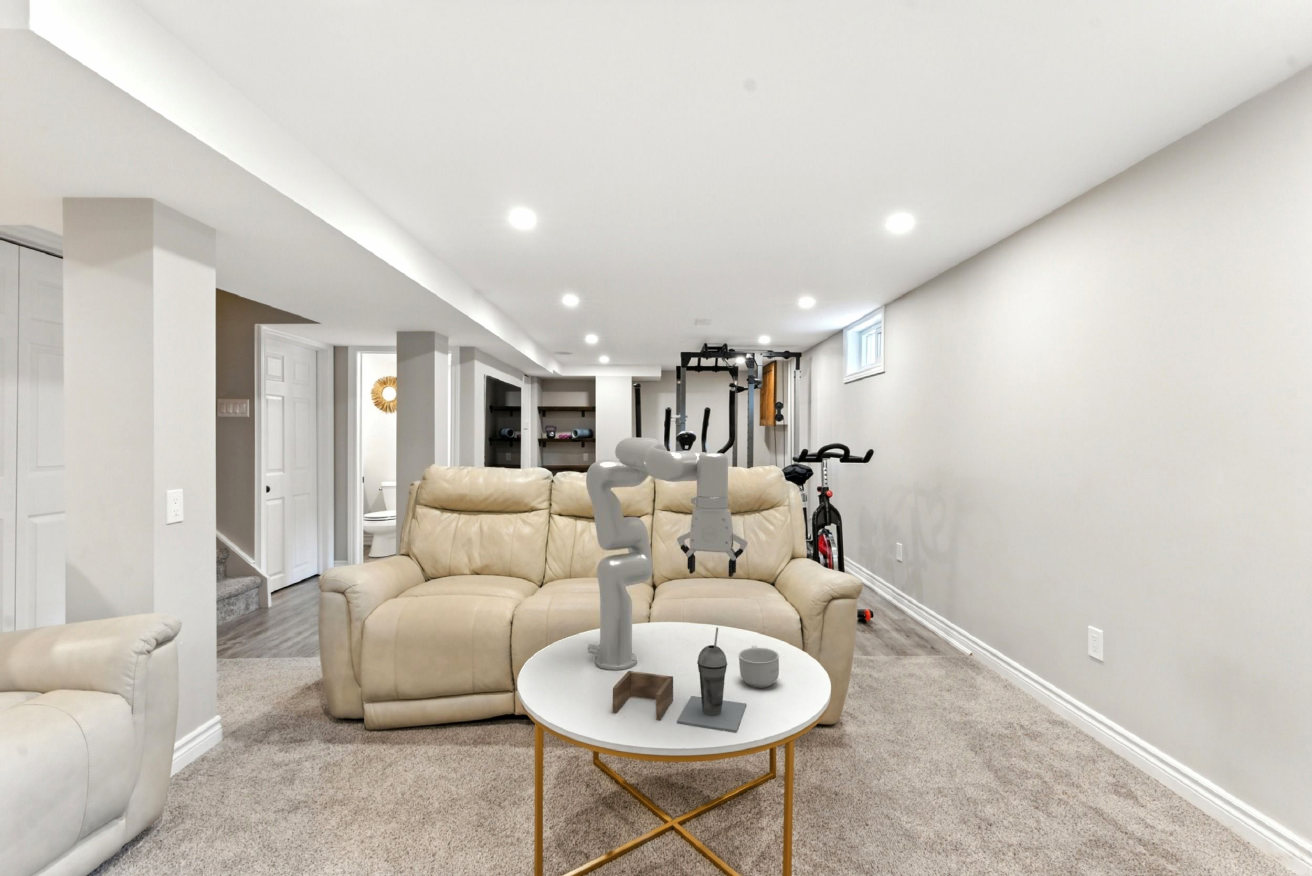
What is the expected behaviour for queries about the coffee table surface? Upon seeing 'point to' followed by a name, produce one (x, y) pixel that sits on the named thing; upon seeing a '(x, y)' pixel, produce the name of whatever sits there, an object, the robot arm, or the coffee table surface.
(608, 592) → the robot arm
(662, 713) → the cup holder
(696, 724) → the slate mat
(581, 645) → the coffee table surface
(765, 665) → the teacup
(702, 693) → the beverage cup
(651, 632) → the coffee table surface
